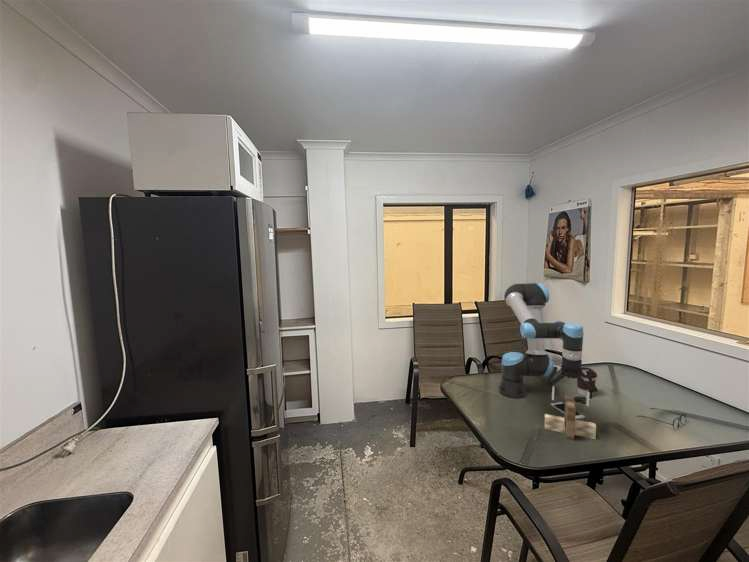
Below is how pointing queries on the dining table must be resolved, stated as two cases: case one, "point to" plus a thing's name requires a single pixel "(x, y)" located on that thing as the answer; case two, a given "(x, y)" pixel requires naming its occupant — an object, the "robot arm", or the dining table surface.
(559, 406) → the smartphone
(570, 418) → the walnut cross plate
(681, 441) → the dining table surface
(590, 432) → the beech base plate
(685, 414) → the glasses
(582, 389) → the coffee cup
